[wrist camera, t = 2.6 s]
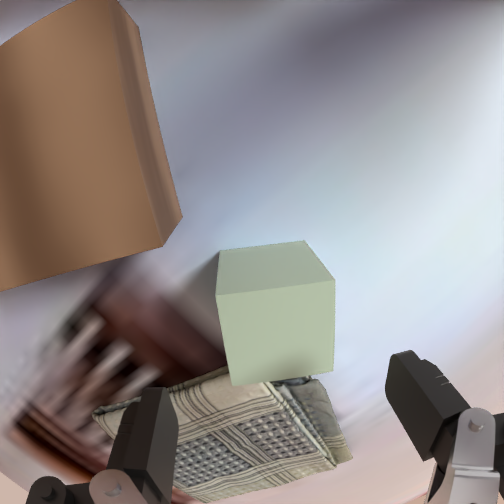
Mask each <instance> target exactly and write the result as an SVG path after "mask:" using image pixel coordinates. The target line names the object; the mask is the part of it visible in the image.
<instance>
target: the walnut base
mask: <svg viewBox="0 0 504 504" xmlns="http://www.w3.org/2000/svg"><path fill="white" fill-rule="evenodd" d="M182 217H183V216H182V213H181V209H180V206H179V202H178V198H177V195H176V191H175V187H174V183H173V180H172V176H171V172H170V168H169V164H168V160H167V156H166V152H165V148H164V144H163V140H162V136H161V132H160V127H159V123H158V119H157V115H156V110H155V106H154V101H153V97H152V92H151V88H150V83H149V78H148V73H147V69H146V64H145V59H144V54H143V48H142V43H141V38H140V32H139V27H138V26H137V25H136V24H135V22H134V21H133V20H132V19H131V17H130V16H129V15H128V13H127V12H126V11H125V10H124V8H123V7H122V6H121V5H120V3H119V2H118V1H117V0H76V1H74V2H72V3H70V4H68V5H66V6H64V7H62V8H60V9H58V10H56V11H55V12H53V13H51V14H49V15H47V16H46V17H44V18H42V19H40V20H39V21H37V22H35V23H34V24H32V25H31V26H29V27H27V28H26V29H24V30H23V31H21V32H20V33H18V34H17V35H15V36H14V37H12V38H11V39H9V40H8V41H6V42H5V43H3V44H2V45H1V46H0V292H1V291H4V290H8V289H11V288H14V287H18V286H21V285H25V284H28V283H31V282H35V281H38V280H42V279H45V278H49V277H52V276H56V275H59V274H63V273H66V272H70V271H74V270H77V269H81V268H84V267H88V266H92V265H95V264H99V263H103V262H106V261H110V260H114V259H117V258H121V257H125V256H129V255H133V254H136V253H140V252H144V251H148V250H152V249H156V248H159V247H163V245H164V244H165V242H166V241H167V239H168V238H169V236H170V235H171V233H172V232H173V230H174V229H175V227H176V226H177V225H178V223H179V222H180V220H181V219H182Z"/></svg>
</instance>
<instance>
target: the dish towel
mask: <svg viewBox="0 0 504 504" xmlns="http://www.w3.org/2000/svg"><path fill="white" fill-rule="evenodd" d="M167 390H168V393H169V396H170V398H171V401H172V404H173V407H174V409H175V412H176V415H177V418H178V424H179V433H178V441H177V450H176V458H175V467H174V477H173V486H175V487H176V488H178V489H180V490H181V491H183V492H184V493H186V494H188V495H189V496H191V497H193V498H195V499H197V500H199V501H201V502H203V503H209V502H212V501H216V500H220V499H223V498H228V497H231V496H236V495H241V494H244V493H248V492H252V491H258V490H262V489H267V488H271V487H276V486H280V485H283V484H286V483H289V482H292V481H294V480H297V479H300V478H303V477H307V476H309V475H312V474H315V473H319V472H324V471H328V470H332V469H335V468H336V467H337V464H340V463H343V462H346V461H349V460H351V459H353V457H352V455H351V453H350V451H349V448H348V447H347V445H346V442H345V438H344V436H343V434H342V431H341V430H340V427H339V425H338V423H337V419H336V416H335V414H334V412H333V409H332V406H331V402H330V400H329V397H328V395H327V393H326V389H325V388H324V387H323V385H322V384H321V383H320V382H319V380H318V379H312V378H311V376H310V375H309V376H304V377H298V378H291V379H285V380H278V381H271V382H263V383H255V384H246V385H237V386H232V382H231V377H230V372H229V367H228V365H227V366H225V367H221V368H219V369H217V370H215V371H212V372H209V373H207V374H204V375H202V376H199V377H196V378H194V379H191V380H188V381H186V382H183V383H181V384H178V385H175V386H172V387H169V388H167ZM140 400H141V396H140V397H135V398H133V399H130V400H126V401H124V402H119V403H116V404H113V405H108V406H101V407H98V409H96V410H95V411H93V412H92V417H93V418H94V420H95V421H96V422H97V423H98V424H99V425H100V426H101V427H102V428H103V430H104V431H105V432H106V433H107V434H108V435H109V436H110V437H111V438H112V439H113V440H115V437H116V434H117V431H118V428H119V425H120V421H121V418H122V415H123V412H124V411H125V410H126V408H127V407H128V406H129V405H130V404H131V403H132V402H140Z"/></svg>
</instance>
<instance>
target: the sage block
mask: <svg viewBox="0 0 504 504" xmlns="http://www.w3.org/2000/svg"><path fill="white" fill-rule="evenodd" d="M215 297H216V303H217V308H218V314H219V320H220V325H221V331H222V336H223V341H224V347H225V352H226V357H227V362H228V367H229V372H230V377H231V382H232V386H237V385H246V384H255V383H263V382H271V381H278V380H285V379H291V378H298V377H304V376H309V375H315V374H321V373H326V372H331V371H333V364H334V338H335V279H334V278H333V276H332V275H331V274H330V272H329V271H328V270H327V269H326V267H325V266H324V265H323V263H322V262H321V261H320V259H319V258H318V257H317V256H316V254H315V253H314V252H313V251H312V249H311V248H310V247H309V245H308V244H307V243H306V242H305V240H303V241H295V242H287V243H278V244H270V245H262V246H254V247H246V248H237V249H229V250H221V251H220V254H219V263H218V273H217V283H216V293H215Z"/></svg>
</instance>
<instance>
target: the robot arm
mask: <svg viewBox="0 0 504 504" xmlns="http://www.w3.org/2000/svg"><path fill="white" fill-rule="evenodd" d="M385 393H386V397H387V399H388V401H389V403H390V405H391V406H392V408H393V410H394V412H395V413H396V415H397V417H398V418H399V420H400V422H401V423H402V425H403V427H404V429H405V430H406V432H407V434H408V436H409V437H410V439H411V441H412V443H413V444H414V446H415V448H416V450H417V451H418V453H419V455H420V457H421V458H422V460H423V461H426V460H428V459H430V458H433V457H434V458H435V460H436V463H435V466H434V469H433V473H432V477H431V481H430V484H429V488H428V491H427V495H426V498H425V501H424V504H497V499H498V491H499V492H500V494H501V496H502V498H503V499H504V413H501V414H495V415H492V414H491V413H490V412H488V411H487V410H485V409H482V408H471V407H470V406H469V404H468V403H467V402H466V401H465V400H464V398H463V397H462V396H461V395H460V393H459V392H458V391H457V390H456V389H455V387H454V386H453V385H452V384H451V383H449V380H448V379H447V378H446V377H445V376H443V373H442V372H441V371H440V370H439V369H438V367H437V366H436V365H434V364H432V363H431V362H429V361H427V360H425V359H424V360H420V359H419V357H418V356H417V355H416V354H415V353H414V352H413V351H412V350H408V351H404V352H400V353H397V354H393V355H392V356H391V358H390V362H389V368H388V373H387V379H386V384H385ZM178 433H179V424H178V418H177V415H176V412H175V409H174V407H173V404H172V401H171V398H170V396H169V393H168V390H167V388H166V387H154V388H144V390H143V393H142V396H141V400H140V402H132V403H131V404H130V405H129V406H128V407H127V408H126V410H125V411H124V412H123V415H122V418H121V421H120V425H119V428H118V431H117V434H116V437H115V441H114V444H113V447H112V451H111V454H110V458H109V461H108V465H107V467H106V470H104V471H101V472H99V473H98V474H96V475H95V476H94V477H93V478H92V480H91V482H89V483H83V484H74V485H64V484H63V483H62V481H61V480H59V479H58V478H56V477H52V476H45V477H42V478H39V479H38V480H36V481H35V482H34V483H33V485H32V486H31V489H30V491H29V495H28V498H27V501H26V504H171V496H172V486H173V477H174V467H175V458H176V450H177V441H178Z"/></svg>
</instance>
